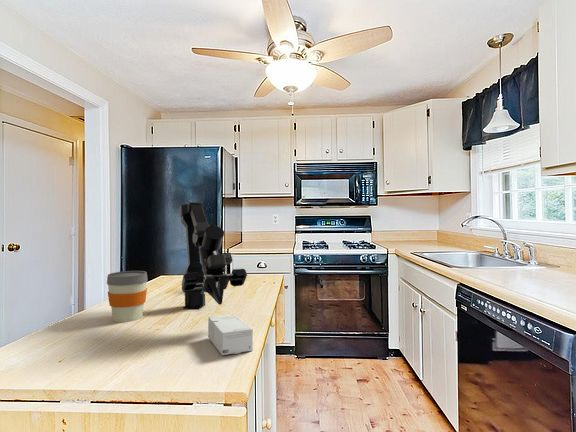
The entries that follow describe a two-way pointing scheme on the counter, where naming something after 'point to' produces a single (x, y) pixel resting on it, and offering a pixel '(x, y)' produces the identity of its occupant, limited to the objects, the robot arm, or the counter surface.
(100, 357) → the counter surface
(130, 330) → the counter surface
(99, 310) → the counter surface
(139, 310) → the reusable coffee cup
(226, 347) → the skincare box
